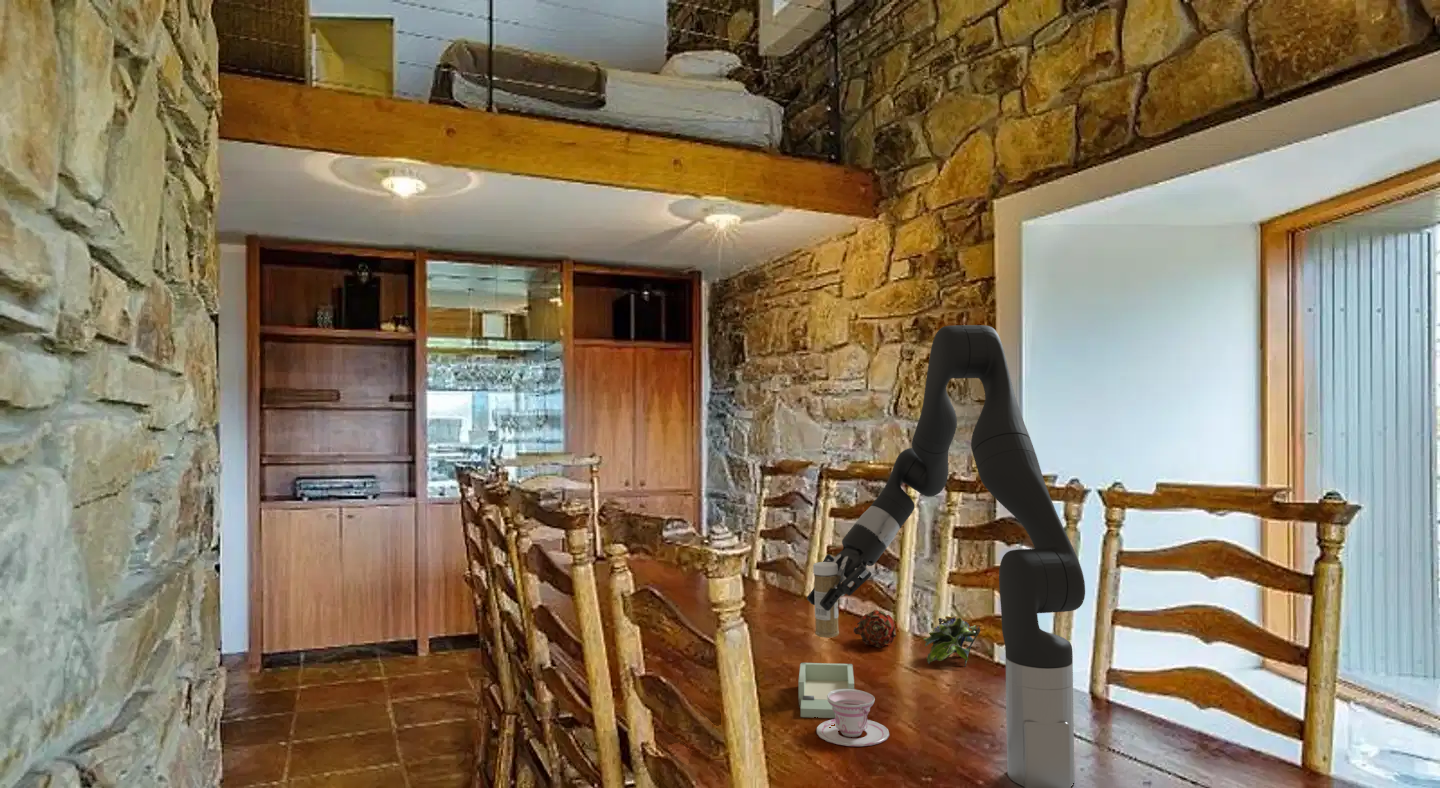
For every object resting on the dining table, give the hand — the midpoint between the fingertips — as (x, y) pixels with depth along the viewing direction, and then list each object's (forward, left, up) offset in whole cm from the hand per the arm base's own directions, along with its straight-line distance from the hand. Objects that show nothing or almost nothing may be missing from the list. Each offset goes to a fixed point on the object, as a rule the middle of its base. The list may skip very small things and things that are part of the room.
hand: (817, 604), depth 163 cm
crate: (-2, -2, -17) cm, 18 cm away
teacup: (-17, -6, -18) cm, 25 cm away
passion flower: (+26, -28, -18) cm, 42 cm away
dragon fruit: (+38, -13, -18) cm, 44 cm away
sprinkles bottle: (+1, -2, -6) cm, 6 cm away
